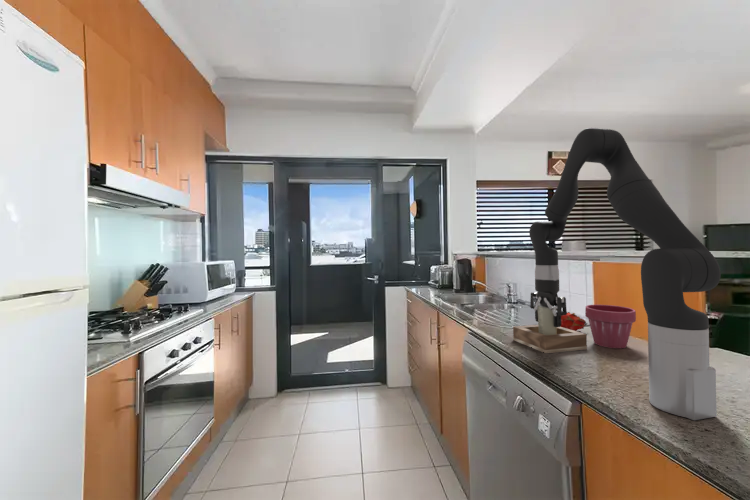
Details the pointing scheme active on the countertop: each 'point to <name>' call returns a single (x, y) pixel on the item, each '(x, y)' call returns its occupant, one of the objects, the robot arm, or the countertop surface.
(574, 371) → the countertop surface
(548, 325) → the skincare box
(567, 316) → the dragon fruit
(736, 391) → the countertop surface
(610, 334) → the plant pot
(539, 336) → the socket block
